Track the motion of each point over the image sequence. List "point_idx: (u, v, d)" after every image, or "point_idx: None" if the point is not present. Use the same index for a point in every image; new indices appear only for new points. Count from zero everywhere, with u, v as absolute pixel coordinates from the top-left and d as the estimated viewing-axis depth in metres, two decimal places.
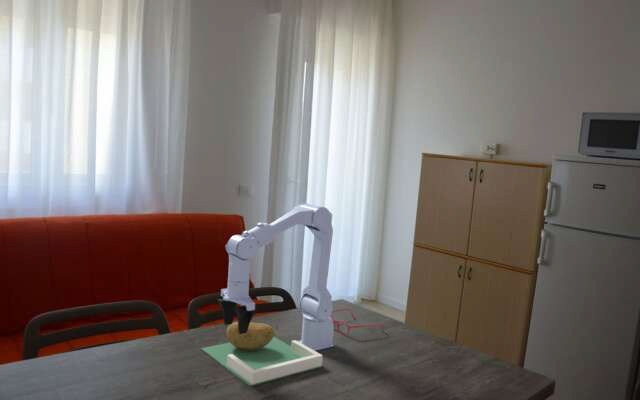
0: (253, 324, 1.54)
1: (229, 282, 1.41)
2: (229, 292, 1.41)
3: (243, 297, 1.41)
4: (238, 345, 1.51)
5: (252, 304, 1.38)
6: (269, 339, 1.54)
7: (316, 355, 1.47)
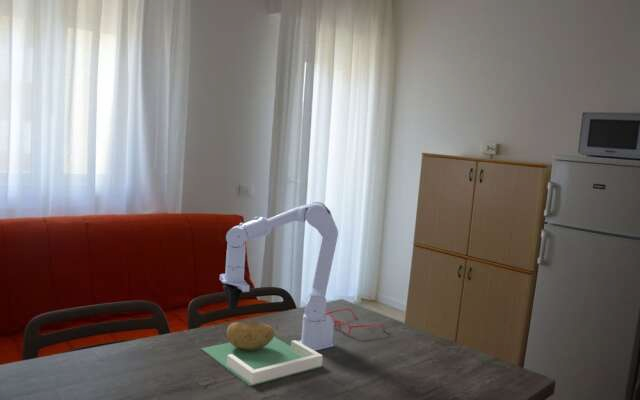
0: (253, 324, 1.54)
1: (227, 267, 1.60)
2: (227, 276, 1.60)
3: (239, 280, 1.60)
4: (238, 345, 1.51)
5: (247, 286, 1.57)
6: (269, 339, 1.54)
7: (316, 355, 1.47)
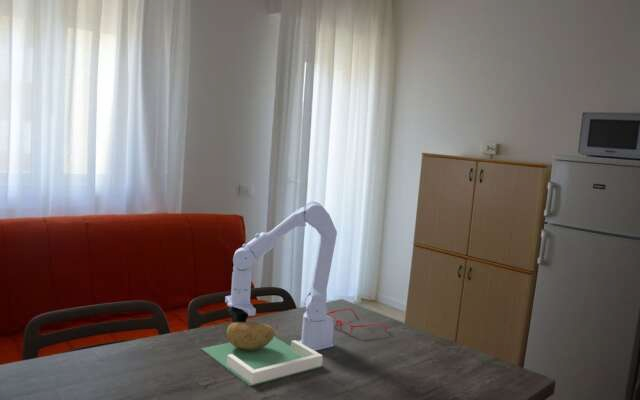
0: (253, 324, 1.54)
1: (232, 290, 1.57)
2: (232, 299, 1.57)
3: (245, 303, 1.58)
4: (238, 345, 1.51)
5: (253, 310, 1.54)
6: (269, 339, 1.54)
7: (316, 355, 1.47)
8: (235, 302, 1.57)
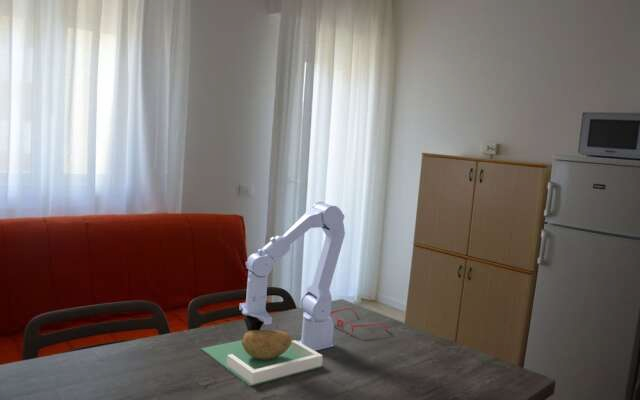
0: (270, 332, 1.48)
1: (248, 297, 1.51)
2: (248, 307, 1.51)
3: (261, 311, 1.51)
4: (256, 355, 1.46)
5: (269, 318, 1.48)
6: (287, 347, 1.49)
7: (316, 355, 1.47)
8: (250, 310, 1.50)
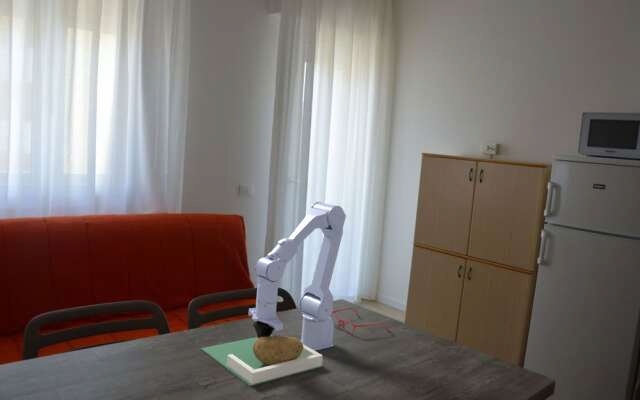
0: (282, 338, 1.45)
1: (258, 303, 1.47)
2: (258, 312, 1.47)
3: (271, 317, 1.47)
4: (268, 362, 1.42)
5: (280, 324, 1.44)
6: (299, 353, 1.45)
7: (316, 355, 1.47)
8: (260, 316, 1.46)
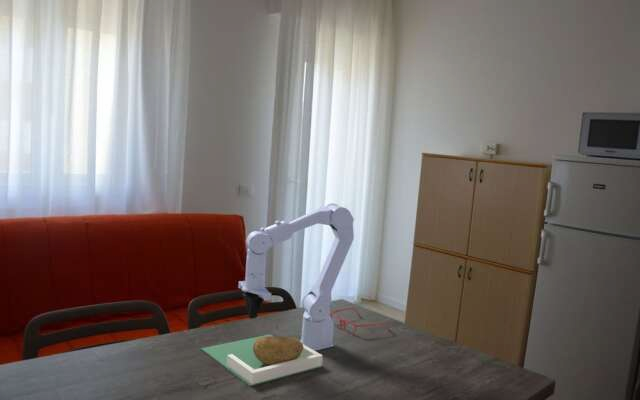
0: (282, 338, 1.45)
1: (247, 274, 1.53)
2: (247, 284, 1.53)
3: (260, 288, 1.53)
4: (268, 362, 1.42)
5: (269, 294, 1.50)
6: (299, 353, 1.45)
7: (316, 355, 1.47)
8: (250, 287, 1.53)
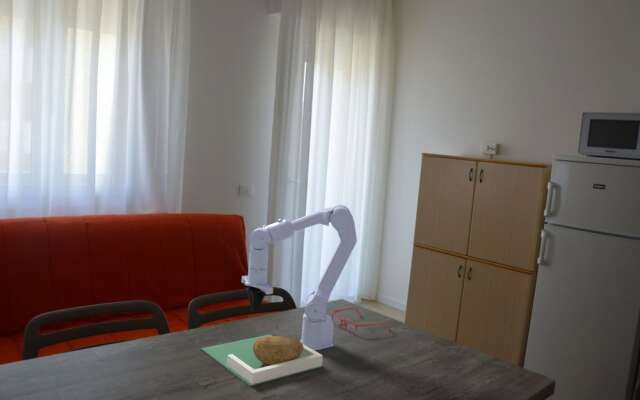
0: (282, 338, 1.45)
1: (250, 269, 1.59)
2: (250, 278, 1.59)
3: (262, 283, 1.59)
4: (268, 362, 1.42)
5: (270, 288, 1.56)
6: (299, 353, 1.45)
7: (316, 355, 1.47)
8: (252, 281, 1.59)
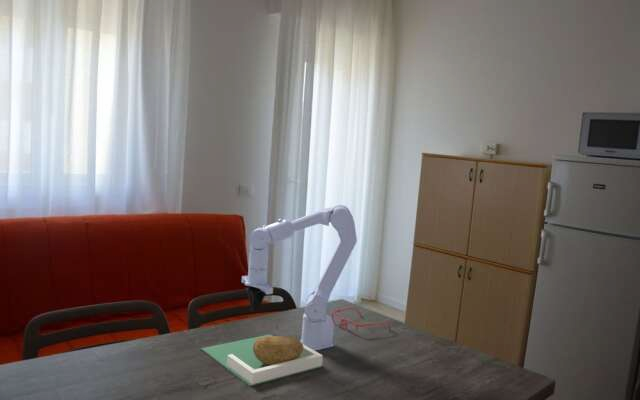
0: (282, 338, 1.45)
1: (250, 269, 1.59)
2: (250, 278, 1.59)
3: (262, 283, 1.59)
4: (268, 362, 1.42)
5: (270, 288, 1.56)
6: (299, 353, 1.45)
7: (316, 355, 1.47)
8: (252, 281, 1.59)
